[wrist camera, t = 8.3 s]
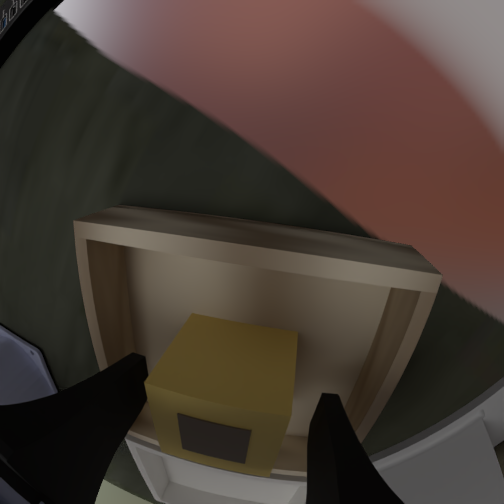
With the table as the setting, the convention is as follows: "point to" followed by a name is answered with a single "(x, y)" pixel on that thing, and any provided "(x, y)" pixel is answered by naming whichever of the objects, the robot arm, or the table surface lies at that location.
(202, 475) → the white tub
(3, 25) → the multiport hub
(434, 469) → the phone holder
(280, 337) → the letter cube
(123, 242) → the birch box
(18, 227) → the table surface
